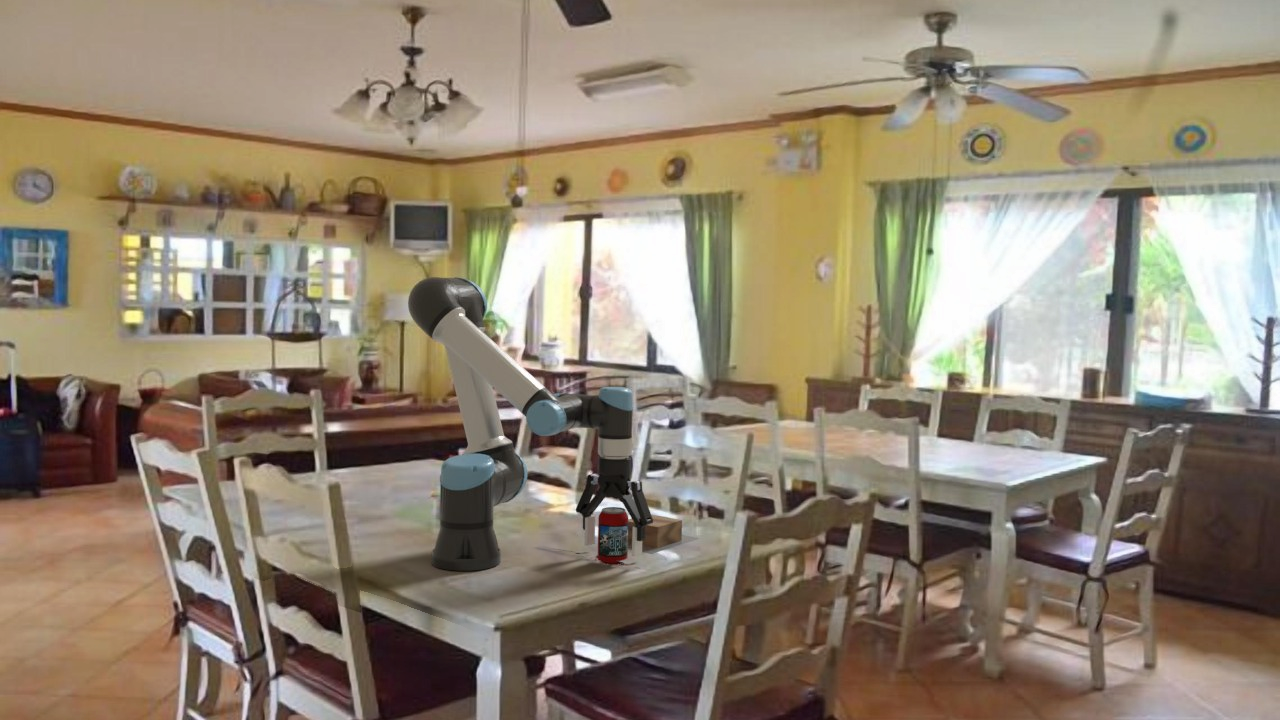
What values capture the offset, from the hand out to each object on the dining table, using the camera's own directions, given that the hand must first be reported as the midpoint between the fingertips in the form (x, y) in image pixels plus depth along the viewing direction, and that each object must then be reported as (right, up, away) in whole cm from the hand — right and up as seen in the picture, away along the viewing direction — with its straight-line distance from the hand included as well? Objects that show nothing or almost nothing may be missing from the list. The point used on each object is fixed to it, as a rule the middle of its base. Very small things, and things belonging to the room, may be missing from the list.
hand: (612, 549), depth 228 cm
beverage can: (0, -3, 0) cm, 3 cm away
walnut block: (+9, -1, +16) cm, 18 cm away
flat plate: (+9, -2, +16) cm, 18 cm away
